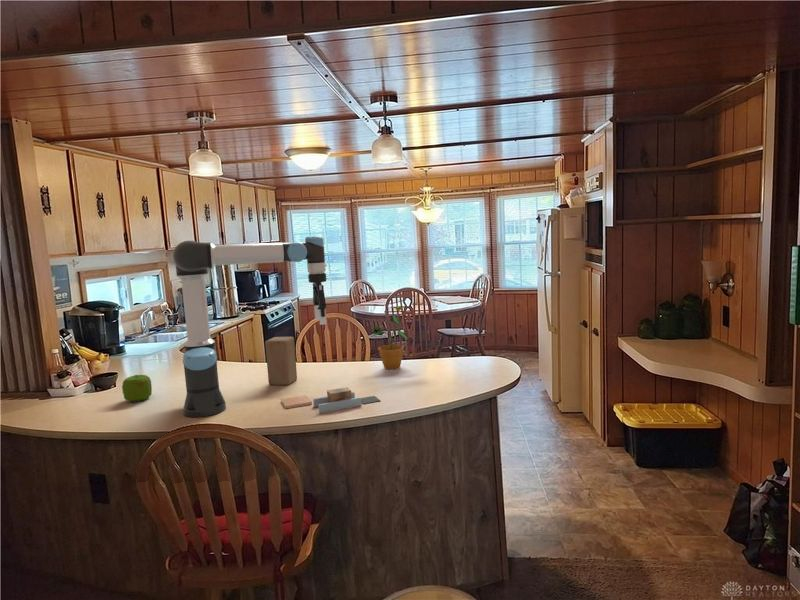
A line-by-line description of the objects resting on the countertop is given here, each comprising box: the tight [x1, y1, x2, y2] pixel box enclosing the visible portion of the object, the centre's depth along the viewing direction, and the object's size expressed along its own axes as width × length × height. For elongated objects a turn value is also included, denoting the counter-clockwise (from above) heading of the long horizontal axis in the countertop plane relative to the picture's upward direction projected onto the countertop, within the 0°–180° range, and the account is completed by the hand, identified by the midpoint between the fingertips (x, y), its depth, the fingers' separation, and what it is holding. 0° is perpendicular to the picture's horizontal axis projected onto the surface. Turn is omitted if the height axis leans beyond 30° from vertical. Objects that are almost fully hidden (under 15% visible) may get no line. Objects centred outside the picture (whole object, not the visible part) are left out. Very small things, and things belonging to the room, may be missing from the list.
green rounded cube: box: [121, 374, 153, 403], centre depth 221 cm, size 11×11×11 cm
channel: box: [312, 391, 362, 414], centre depth 199 cm, size 16×9×3 cm, turn 113°
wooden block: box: [264, 336, 298, 386], centre depth 236 cm, size 10×10×20 cm
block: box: [326, 386, 352, 403], centre depth 199 cm, size 8×5×6 cm, turn 113°
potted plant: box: [371, 305, 408, 370], centre depth 251 cm, size 18×19×30 cm
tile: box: [280, 394, 313, 409], centre depth 206 cm, size 10×10×1 cm
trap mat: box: [361, 395, 381, 405], centre depth 204 cm, size 7×7×1 cm
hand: (320, 322), depth 227 cm, fingers open, 13 cm apart
